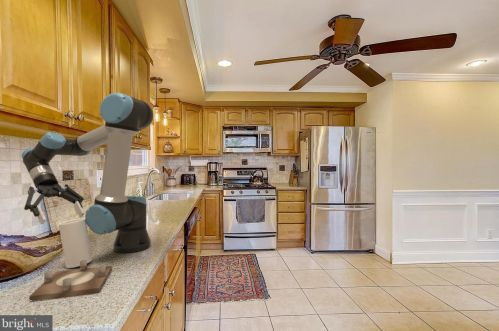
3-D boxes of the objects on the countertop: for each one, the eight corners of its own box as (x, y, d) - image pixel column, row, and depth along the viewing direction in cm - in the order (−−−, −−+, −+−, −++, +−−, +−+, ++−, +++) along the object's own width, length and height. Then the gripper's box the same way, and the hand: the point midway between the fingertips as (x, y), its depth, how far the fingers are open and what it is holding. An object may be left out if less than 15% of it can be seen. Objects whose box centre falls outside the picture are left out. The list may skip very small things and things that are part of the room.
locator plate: (111, 269, 92) (111, 257, 92) (99, 292, 76) (99, 277, 76) (55, 275, 88) (55, 262, 88) (29, 301, 71) (29, 285, 71)
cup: (87, 257, 103) (80, 217, 102) (95, 260, 98) (88, 218, 97) (63, 266, 96) (55, 223, 96) (70, 269, 91) (62, 224, 91)
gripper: (72, 182, 121) (92, 218, 114) (2, 187, 99) (21, 231, 92) (79, 171, 118) (99, 207, 111) (8, 173, 96) (28, 218, 89)
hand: (64, 218), depth 102 cm, fingers open, 13 cm apart
